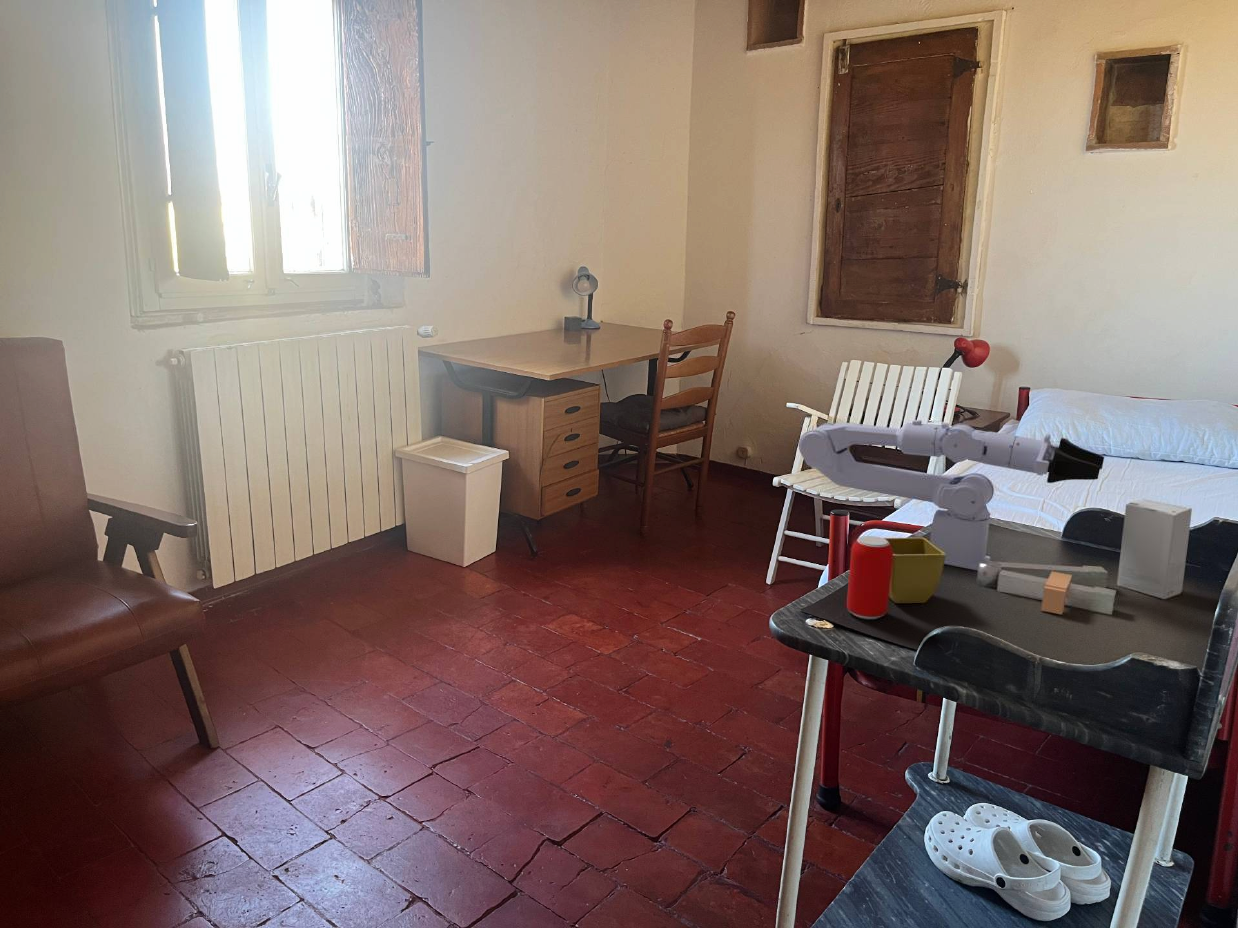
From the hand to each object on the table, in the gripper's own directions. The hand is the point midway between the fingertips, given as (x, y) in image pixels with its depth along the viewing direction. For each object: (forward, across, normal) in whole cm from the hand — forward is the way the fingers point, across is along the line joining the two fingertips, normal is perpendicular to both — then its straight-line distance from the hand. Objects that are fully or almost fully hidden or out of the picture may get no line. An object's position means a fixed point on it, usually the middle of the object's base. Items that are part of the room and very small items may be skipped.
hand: (1101, 467), depth 150 cm
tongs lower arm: (-2, -11, +20) cm, 23 cm away
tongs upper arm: (-5, -5, +21) cm, 22 cm away
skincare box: (+10, +3, +20) cm, 23 cm away
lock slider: (-2, -14, +20) cm, 24 cm away
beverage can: (-26, -34, +22) cm, 48 cm away
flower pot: (-23, -24, +22) cm, 40 cm away
